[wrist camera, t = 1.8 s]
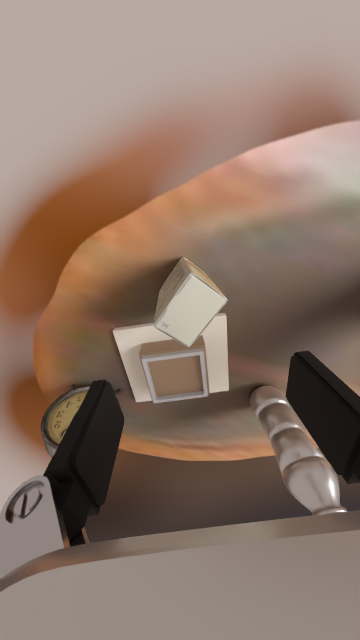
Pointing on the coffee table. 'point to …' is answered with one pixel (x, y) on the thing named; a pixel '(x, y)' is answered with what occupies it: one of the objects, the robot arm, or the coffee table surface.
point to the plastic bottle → (296, 453)
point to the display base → (152, 334)
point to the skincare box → (187, 303)
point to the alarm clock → (61, 416)
